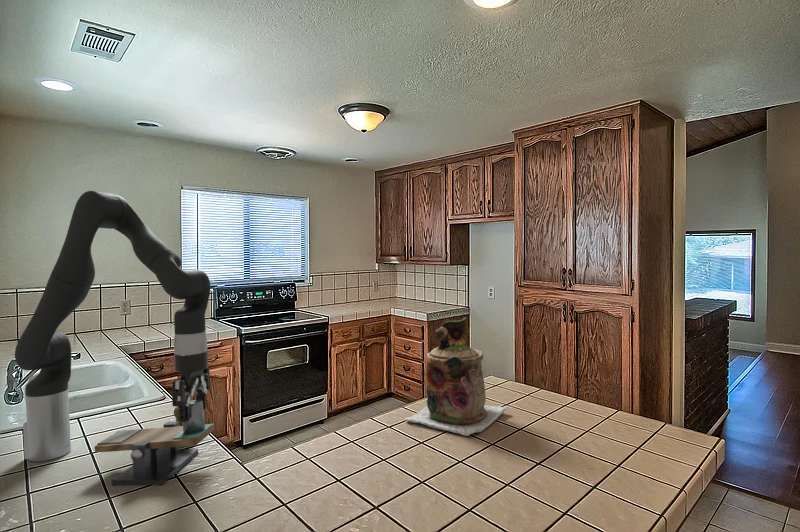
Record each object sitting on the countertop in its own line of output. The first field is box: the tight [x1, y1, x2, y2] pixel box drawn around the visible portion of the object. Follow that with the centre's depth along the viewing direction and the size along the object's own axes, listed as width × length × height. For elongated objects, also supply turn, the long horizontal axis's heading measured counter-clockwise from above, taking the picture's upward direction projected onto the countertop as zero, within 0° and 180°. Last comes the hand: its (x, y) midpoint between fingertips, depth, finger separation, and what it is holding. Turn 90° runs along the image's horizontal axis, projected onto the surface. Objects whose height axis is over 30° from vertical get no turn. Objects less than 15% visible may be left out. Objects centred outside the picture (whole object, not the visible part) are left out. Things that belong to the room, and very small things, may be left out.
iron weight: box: [182, 399, 206, 435], centre depth 114 cm, size 5×5×7 cm
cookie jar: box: [404, 317, 507, 437], centre depth 145 cm, size 25×25×32 cm
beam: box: [94, 423, 216, 454], centre depth 115 cm, size 25×10×2 cm, turn 87°
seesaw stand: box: [111, 421, 199, 486], centre depth 115 cm, size 12×17×9 cm
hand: (193, 415), depth 114 cm, fingers open, 8 cm apart
